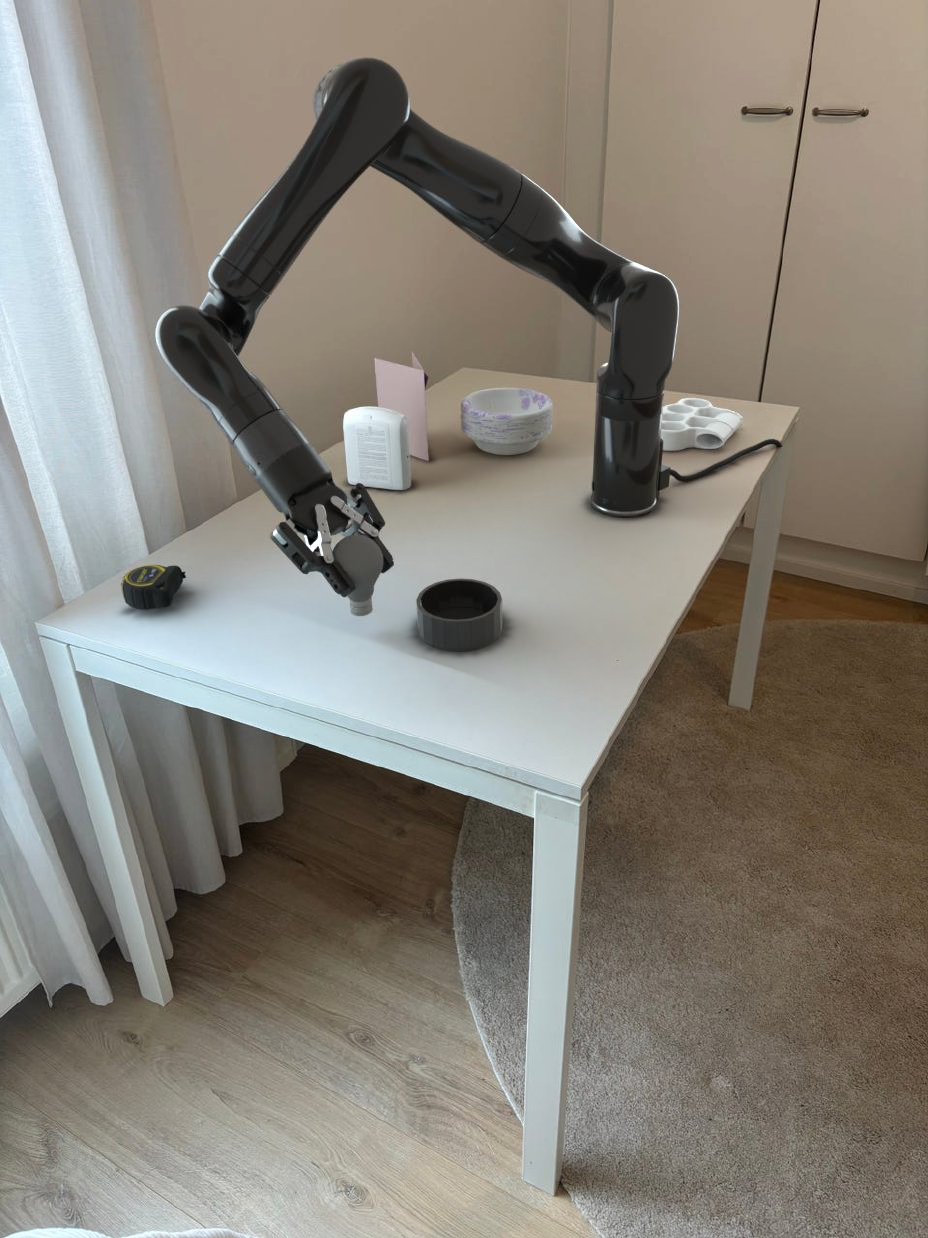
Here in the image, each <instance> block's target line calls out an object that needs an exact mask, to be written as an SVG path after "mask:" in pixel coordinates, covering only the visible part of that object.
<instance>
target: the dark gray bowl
mask: <svg viewBox="0 0 928 1238" xmlns="http://www.w3.org/2000/svg"><path fill="white" fill-rule="evenodd" d="M415 602H416V615H417V628H418V635H419V637H420V639H421V640H422V641H423V642H424V643H425V644H427V645H428V646H431V647H432V648H434V649H437V650H442V651H446V652H469V651H476V650H479V649H482V648H485V647H487V646H489V645H491V644H492V643H494V642H495V641H497V639H498V638H499V637H500V636H501V633H502V631H503V597H502V594H501V592H500V590H498V589H497V588H496V587H495V585H492V584H490V583H488V582H486V581H484V580H483V581H482V580H479V579H473V578H462V577H461V578H449V579H445V580H440V581H437V582H434V583H432V584H430V585H428V586H426V587H424V588H423V589H422V590H421V591H420V592H419V593H418V595H417V597H416V600H415Z"/></svg>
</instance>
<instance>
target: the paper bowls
mask: <svg viewBox="0 0 928 1238" xmlns="http://www.w3.org/2000/svg"><path fill="white" fill-rule="evenodd" d="M553 403H554V402H553V400H552V399H551V398H550V397H549V396H548V395H546V394H544V393H541V392H540V391H536V390H533V389H527V388H519V387H518V388H517V387H493V388H485V389H481V390H476V391H473V392H471V393H469V394H467V395H465V396H464V397H463V398H462V400H461V403H460V424H461V425H460V426H461V431H462V433H463V434H464V435H465V436H467V437H468V438H471V439H472V440H473V441H474V444H475V445H476V446H477V448H479V450H481V451H483V452H485V453H488V454H492V455H496V456H517V455H522V454H526V453H528V452H530V451H532V450H533V449H535V448H536V447H537V446H538V443H539V442H540V440H543V439H545V438H546V437H548V436H549V435H550V434H551V433H552V428H553V410H554V409H553V406H554V404H553Z"/></svg>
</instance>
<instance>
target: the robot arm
mask: <svg viewBox="0 0 928 1238" xmlns="http://www.w3.org/2000/svg"><path fill="white" fill-rule="evenodd" d="M410 104H411V103H410V93H409V91H408V87H407V84H406V82H405V80H404V79H403V77H402V75H401V74H400V72H399V71H398V70H397V69H396V68H395V67H394V66H393V65H391V64H390V63H388V62H386V61H384V60H382V59H380V58H377V57H371V56H370V57H369V56H360V57H355V58H351V59H349V60H346V61H344V62H342V63H341V64H337V65H335V66H333V67H332V68H331V69H328V71H327V72H325V73H324V74H323V75H322V77H321V78H319V80H318V82H317V84H316V85H315V88H314V91H313V95H312V112H313V113H312V114H313V118H314V120H315V123H314V125H313V127H312V128H311V131H310V133H308V136H307V138H306V139H305V141H304V142H303V145H302V146H300V149H299V150H298V152H297V154H295V156H294V158H292V160H291V162H290V163H289V164H288V165H287V167H286V168H285V170H284V171H283V172H282V173H281V174H280V175H279V177H278V178H277V179H276V180H275V181H274V182H273V183H272V185H271V186H270V187H269V188H268V189H267V190H266V191H265V192H264V194H263V195H261V197H259V199H258V200H257V201H256V202H255V204H254V205H253V206H252V207H251V208H250V209H249V210H248V211H247V213H246V214H245V215H244V216H243V218H242V219H241V220H240V222H239V223H238V224H237V226H236V227H235V229H233V231H232V233H231V234H229V235H230V236H229V237H228V238H227V240H226V241H225V243H224V244H223V246H222V247H221V248H220V250H219V251H218V253H217V255H215V257H214V258H213V260H212V262H211V263H210V265H209V267H208V269H207V272H206V279H207V283H208V290H207V292H206V294H205V296H204V298H203V300H202V301H201V304H200V306H199V307H197V306H193V305H188V304H179V305H174V306H172V307H170V308H168V309H166V310H165V311H164V312H163V313H162V314H161V315H160V316H159V318H158V320H157V322H156V325H155V328H154V340H155V341H154V342H155V345H156V349H157V351H158V352H159V353H158V354H159V355H160V357H161V358H162V360H163V361H164V363H165V364H166V365H167V367H168V368H169V369H170V370H171V372H172V374H174V376H175V377H176V378H177V379H178V380H179V381H180V382H181V384H183V385H184V386H185V387H186V389H187V390H188V391H189V392H190V393H191V394H192V395H193V396H194V397H195V398H196V399H197V400H198V401H199V402H200V404H201V405H203V407H204V408H205V409H206V410H207V411H208V413H209V414H210V415H211V417H212V419H213V420H214V422H215V424H216V425H217V427H218V428H219V429H220V431H221V432H222V433H223V435H224V436H225V438H226V439H227V440H228V442H229V443H230V444H231V445H232V447H233V448H234V450H235V452H236V453H237V455H238V457H239V459H240V461H241V463H242V464H243V466H244V467H245V469H246V470H247V471H248V473H249V474H250V475H251V477H252V478H253V480H254V481H255V482H256V484H257V485H258V487H260V489H261V490H262V492H263V493H264V494H265V496H266V497H267V499H268V500H269V502H270V503H271V505H272V506H273V507H274V508H275V510H276V511H277V512H279V513H282V514H283V515H284V519H285V521H281V522H279V523H278V524H277V526H276V527H275V528H274V529H273V530H272V531H271V532H270V535H269V538H270V540H271V541H272V542H273V543H274V544H275V545H276V546H277V547H278V549H279V550H280V551H281V552H282V553H283V554H284V555H285V556H286V557H287V559H289V560H290V561H291V563H292V564H293V565H294V566H295V567H296V568H297V569H298V570H299V572H300V573H301V574H303V575H308V574H309V573H313V572H314V573H315V572H318V573H320V574H321V575H322V576H323V577H324V579H325V580H326V582H327V583H328V585H330V587H331V588H332V590H333V591H334V593H336V594H337V595H340V596H341V597H342V598H347V596H348V595H349V594H351V593H352V592H353V591H354V590H355V589H356V587H355V585H354V583H353V582H352V580H351V579H350V578H349V576H348V575H347V574H346V572H345V571H344V569H343V568H342V567H341V565H340V564H339V563H338V561H336V562H333V561H334V557H333V553H332V551H333V549H332V546H331V544H332V537H333V536H336V535H338V534H340V535H342V536H343V537H347V536H350V535H364V536H366V537H368V538H370V539H372V540H373V541H374V542H375V543H376V544H377V545H378V546H379V548H380V550H381V552H382V554H383V568H382V571H381V573H380V574H385V573H387V572H388V571H390V569H392V568H393V567H394V566H395V561H394V557H393V555H392V553H391V552H390V550H389V549H388V548H387V546H386V545H385V544H384V543H383V541H382V539H380V536H379V534H380V532H381V530H382V529H383V528H384V527H385V526H386V520H385V519H384V517H383V516H382V513H381V512H380V510H379V509H378V507H377V505H376V504H375V502H374V500H373V499H372V497H371V495H370V494H369V492H368V490H367V488H366V486H364V485H363V484H361V483H357V484H356V485H353V487H351V488H348V489H345V490H344V489H342V488H341V487H339V486H338V485H337V484H335V482H334V478H333V474H332V470H331V469H330V468H329V466H328V465H327V464H326V462H325V461H324V460H323V458H322V457H321V456H320V454H319V453H318V451H317V450H316V449H315V448H314V446H313V445H312V444H311V442H310V440H309V439H308V438H307V436H306V435H305V434H304V432H303V431H302V430H301V429H300V427H299V426H298V425H297V423H296V422H294V420H293V419H292V418H291V417H290V416H289V415H288V414H287V413H286V412H285V410H284V409H283V408H282V406H281V405H280V403H279V402H278V401H277V399H276V398H275V397H274V396H273V394H272V393H271V391H270V389H268V387H267V386H266V385H265V384H264V383H263V382H262V380H261V379H260V378H259V377H258V376H256V375H255V374H254V373H253V372H251V371H250V370H249V369H248V368H247V367H246V366H245V364H244V363H243V362H242V361H241V359H240V358H239V356H240V354H241V353H242V351H243V349H244V347H245V345H246V343H247V341H248V338H249V336H250V334H251V332H252V330H253V328H254V326H255V324H256V321H257V318H258V316H259V314H260V311H261V310H262V308H263V306H264V305H265V304H266V302H267V301H268V300H269V299H270V296H272V294H273V293H274V292H275V290H276V289H277V287H278V286H279V285H280V283H281V282H282V281H283V279H284V277H285V276H286V275H287V273H288V272H289V271H290V269H291V267H292V266H293V264H294V263H295V262H296V260H297V259H298V257H299V256H300V254H301V253H302V252H303V250H304V249H305V247H306V245H307V244H308V243H309V241H310V240H311V239H312V237H313V236H314V234H315V233H316V231H317V230H318V228H319V227H320V225H321V224H322V223H323V221H324V220H325V219H326V218H327V216H328V215H329V214H330V212H331V211H332V210H333V208H334V207H335V206H336V205H337V204H338V202H339V201H340V200H341V199H342V197H343V196H344V195H345V194H346V193H347V191H348V190H349V189H350V188H351V187H352V185H354V183H355V182H356V181H357V180H358V179H359V178H360V177H361V176H362V175H363V174H364V173H365V171H367V169H369V168H372V169H374V170H376V171H377V172H379V173H381V174H383V175H384V176H387V178H390V179H392V180H394V181H395V182H397V183H398V184H400V185H402V186H404V187H405V188H406V189H408V190H409V191H410V192H411V193H413V194H415V195H416V196H417V197H419V198H420V199H421V200H422V201H423V202H424V203H426V205H428V206H429V207H430V208H432V209H433V210H434V211H436V212H437V213H438V214H439V215H440V216H442V217H443V218H445V219H446V220H447V221H448V222H450V223H451V224H452V225H454V226H455V227H456V228H458V229H459V230H461V231H462V232H463V233H464V234H465V235H467V236H469V238H471V239H472V240H474V241H475V242H477V243H478V244H480V245H481V246H483V247H484V248H486V249H487V250H489V251H490V252H491V253H493V254H494V255H496V256H497V257H499V258H500V259H502V260H504V261H506V262H507V263H509V264H511V266H514V267H515V268H518V269H519V270H522V271H523V272H526V273H528V274H529V275H532V276H534V277H536V278H538V279H541V280H542V281H546V282H547V283H549V284H551V285H552V286H555V287H556V288H557V289H559V290H560V291H561V292H563V293H564V294H565V295H567V296H568V297H569V298H570V299H571V300H573V301H574V302H575V303H576V304H577V305H578V306H580V307H581V308H582V309H583V310H584V311H585V312H586V313H587V314H589V315H590V316H591V318H593V320H595V321H596V322H597V323H598V324H599V325H600V326H601V327H602V328H604V329H605V330H606V331H608V332H610V333H611V336H610V346H609V347H610V348H609V357H608V362H606V363H604V364H602V365H601V366H600V367H599V368H598V370H597V375H596V390H595V391H596V392H595V414H594V416H595V417H594V438H593V459H592V460H593V461H592V462H593V463H592V479H591V496H590V505H591V507H592V508H593V509H595V510H596V511H598V512H599V513H602V514H605V515H608V516H612V517H623V518H624V517H627V518H628V517H638V516H642V515H645V514H648V513H650V512H652V511H653V510H654V509H655V508H656V505H657V501H659V500H660V492H661V491H663V490H665V489H667V488H669V487H670V478H671V477H673V478H674V479H675V480H676V481H678V482H690V481H694V480H698V479H700V478H703V477H704V476H707V475H708V474H710V473H712V472H714V471H716V470H718V469H721V468H723V467H725V466H727V465H729V464H731V463H733V462H735V461H736V460H738V459H739V458H742V457H744V456H746V455H749V454H751V453H753V452H756V451H758V450H760V449H762V448H764V447H766V446H769V445H774V446H775V447H777V448H781V447H783V444H782V442H781V441H780V440H778V439H776V438H768V439H765V440H763V441H760V442H758V443H756V444H754V445H752V446H749V447H746V448H744V449H742V450H740V451H738V452H735V453H734V454H732V455H731V456H729V457H727V458H725V459H722V460H720V461H718V462H716V463H714V464H712V465H710V466H708V467H706V468H704V469H702V470H701V471H698V472H696V473H693V474H688V475H681V474H680V473H679V472H678V471H676V470H675V469H672V468H671V466H668V465H664V464H663V454H664V450H663V439H662V438H661V426H662V414H663V407H664V400H665V399H664V398H665V387H666V380H667V378H668V376H669V374H670V372H671V369H672V366H673V362H674V357H675V356H674V355H675V347H676V341H677V340H676V339H677V334H678V324H679V316H680V315H679V314H680V313H679V312H680V305H679V304H680V301H679V295H678V292H677V291H678V290H677V288H676V286H675V285H674V283H673V281H671V279H670V278H668V277H667V276H666V275H664V274H663V273H660V272H659V271H656V270H653V269H651V268H649V267H647V266H644V265H642V264H640V263H637V262H634V261H632V260H630V259H627V258H626V257H623V256H622V255H619V254H617V253H616V252H614V251H613V250H611V249H609V248H607V247H606V246H604V245H603V244H601V243H599V242H598V241H596V240H594V239H593V238H592V237H590V236H589V234H587V233H585V231H583V229H581V227H579V225H578V224H577V223H576V222H575V221H574V219H573V218H572V217H571V216H570V215H569V213H568V212H567V211H566V210H565V209H564V208H563V207H562V205H560V203H558V202H557V200H556V199H555V198H553V196H551V195H550V194H549V193H548V192H546V190H544V189H543V188H542V187H541V186H539V185H538V184H537V183H535V182H534V181H533V180H531V179H530V178H528V176H526V175H525V174H523V173H522V172H521V171H520V170H518V169H517V168H515V167H514V166H512V165H510V164H509V163H507V162H505V161H503V160H502V159H500V158H498V157H496V156H494V155H492V154H490V153H488V152H486V151H484V150H482V149H480V148H477V147H476V146H473V145H472V144H468V143H466V142H464V141H461V140H459V139H457V138H455V137H453V136H450V135H449V134H446V133H445V132H443V131H441V130H440V129H437V128H436V127H435V126H433V124H430V123H429V122H428V121H426V120H425V119H424V118H423V117H422V116H420V115H419V114H418V113H417V112H415V111H414V110H413V109H412V108H411V107H410V106H411V105H410ZM349 521H350V523H349ZM298 533H299V534H301V535H303V538H304V540H303V539H302V538H301V537H300V536H299V535H298Z"/></svg>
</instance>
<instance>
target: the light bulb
mask: <svg viewBox="0 0 928 1238" xmlns="http://www.w3.org/2000/svg"><path fill="white" fill-rule="evenodd" d="M332 553H333V557H334V561H333V562H336V561H338V563H339V564H340V565H341V567H342V568H343V569H344V571H345V572H346V574H347V575H348V576H349V578H350V579H351V580H352V582H353V583H354V585H355V587H356V589H355V590H354V591H353V592H352V593H351V594H349V595H348V596H346V598H348V600H349V601H348V602H349V608H350V614H351V615H353V616H355V617H365V616H368V615H370V614H371V613H372V612H373V610H374V609H373V595H374V592H375V585H376V583H377V580H378V579H379V578H380V576H381V574H382V573H381V571H382V568H383V554H382V552H381V550H380V548H379V546H378V545H377V544H376V543H375V542H374V541H373V540H372V539H370V538H368V537H366V536H364V535H350V536H347V537H345V536H343V538H342V539H340V540H339V541H338V542H337V543H336V544H335V545H334V547H333V549H332Z"/></svg>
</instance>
